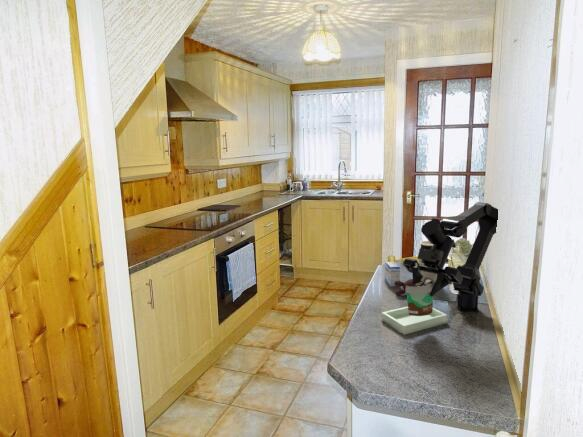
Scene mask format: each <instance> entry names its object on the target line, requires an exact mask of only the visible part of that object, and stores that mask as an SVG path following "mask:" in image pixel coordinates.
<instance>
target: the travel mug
mask: <svg viewBox="0 0 583 437" xmlns="http://www.w3.org/2000/svg"><path fill="white" fill-rule="evenodd" d="M419 244H420V247H419V249H418V251H419V250H420V249H423V250H429V249H431V248H432V246H433V244H431V243H430V242H429V241H428V240H422V241H420V242H419ZM418 263H419V264H420V265H424V263H422V259H418ZM421 274H422V276H423V278H422V280H424V279H425V277H429V278H431V279H433V280H434V282H436V279H437V274H434V273H429V272H425V271H422V272H421ZM422 280H421V281H422Z"/></svg>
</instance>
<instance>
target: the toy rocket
mask: <svg viewBox="0 0 583 437" xmlns="http://www.w3.org/2000/svg"><path fill="white" fill-rule="evenodd" d="M412 282H413V278H410V279H407V280H406V281H405V282H404V281H401V280H400V281H395V283H394V284H395V286H394V287H399V288H402V289H398V290H396V291H395V292H394V294H395V295H396V296H402V295H404V294H406V293H405V290H406V286H412Z"/></svg>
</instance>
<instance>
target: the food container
mask: <svg viewBox="0 0 583 437" xmlns="http://www.w3.org/2000/svg"><path fill="white" fill-rule="evenodd" d="M434 284H435V282H434V280H433V279H431V278H429V277H425V279H424V280H422V281H420V282H416V283H415V284H414V285H412V286H406V290H405V294H406V300H407V306H408V311H409V315H412V316H425V315H429V314H431V313H432V310H433V308H434V296H432V297H431V296H430V293H431V290H432V288H433V286H434Z"/></svg>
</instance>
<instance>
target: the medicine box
mask: <svg viewBox="0 0 583 437" xmlns="http://www.w3.org/2000/svg"><path fill="white" fill-rule="evenodd" d="M384 281H385V283H386V284H387V285H388V286H389V287H396V286H395V284H394V283H395V281H401V266H400V265H399V264H398V263H396V262H395V261H385V262H384Z"/></svg>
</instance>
